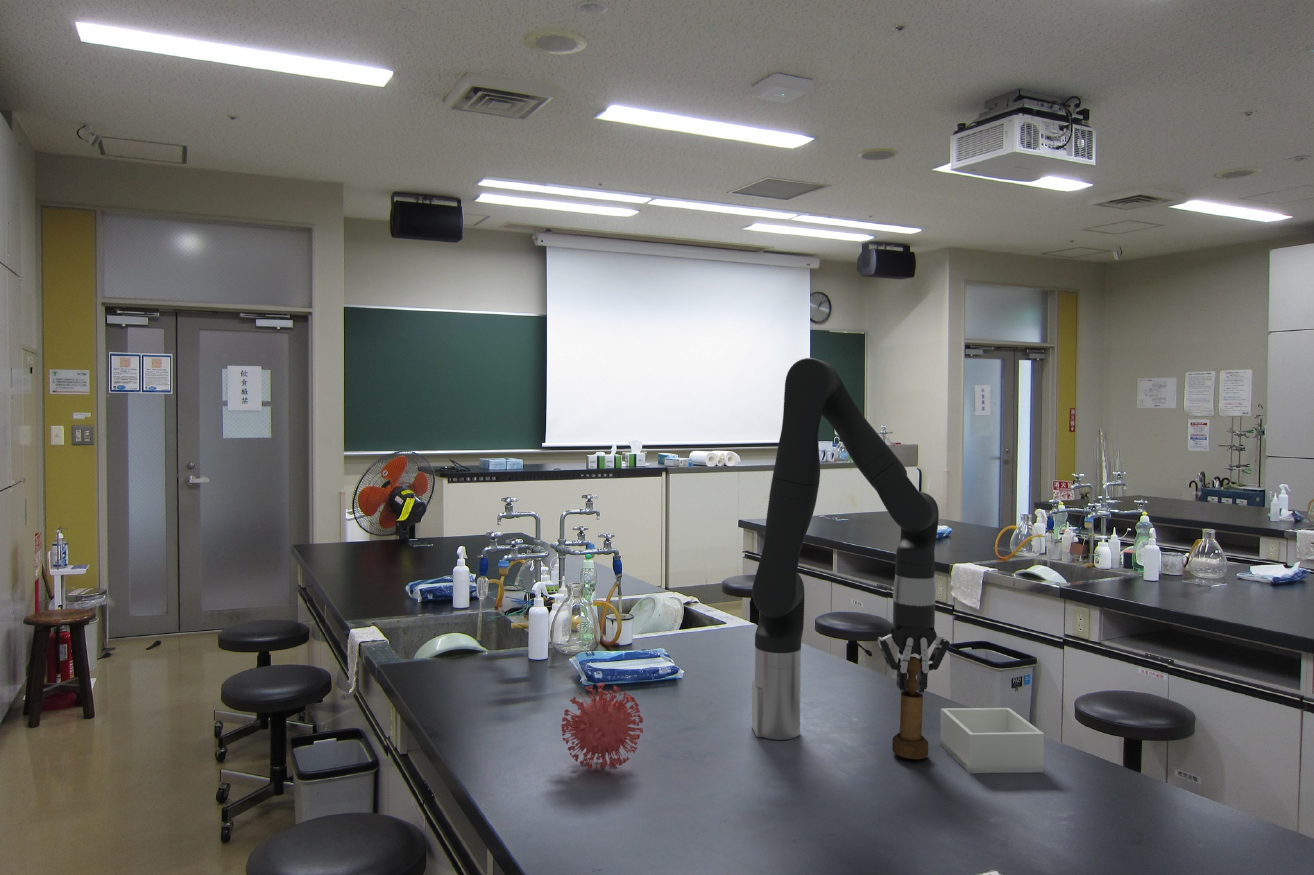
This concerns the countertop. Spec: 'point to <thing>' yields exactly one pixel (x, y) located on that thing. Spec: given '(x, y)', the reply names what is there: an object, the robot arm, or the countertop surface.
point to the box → (991, 740)
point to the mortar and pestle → (911, 718)
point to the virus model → (603, 727)
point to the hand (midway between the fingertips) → (911, 691)
